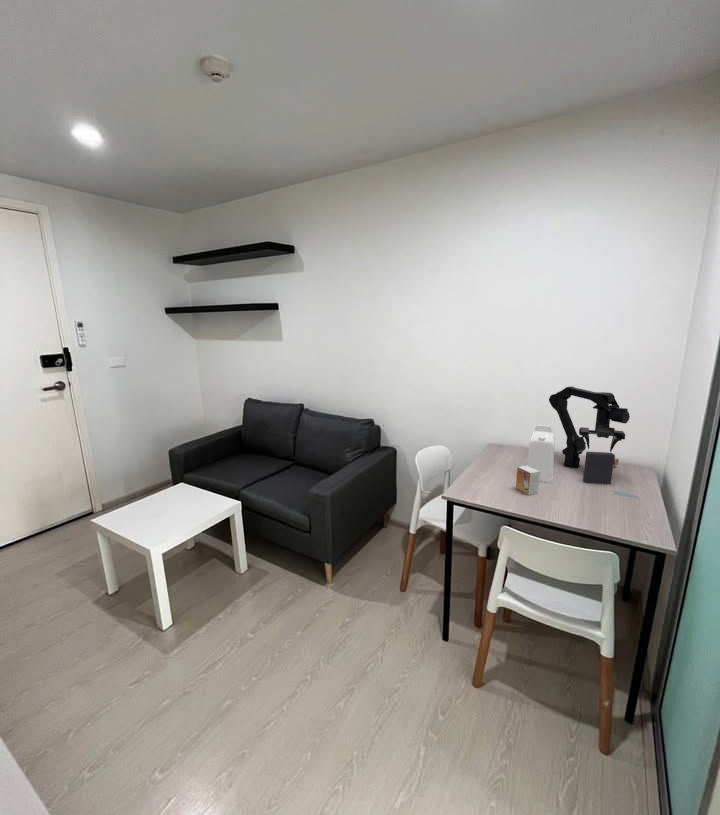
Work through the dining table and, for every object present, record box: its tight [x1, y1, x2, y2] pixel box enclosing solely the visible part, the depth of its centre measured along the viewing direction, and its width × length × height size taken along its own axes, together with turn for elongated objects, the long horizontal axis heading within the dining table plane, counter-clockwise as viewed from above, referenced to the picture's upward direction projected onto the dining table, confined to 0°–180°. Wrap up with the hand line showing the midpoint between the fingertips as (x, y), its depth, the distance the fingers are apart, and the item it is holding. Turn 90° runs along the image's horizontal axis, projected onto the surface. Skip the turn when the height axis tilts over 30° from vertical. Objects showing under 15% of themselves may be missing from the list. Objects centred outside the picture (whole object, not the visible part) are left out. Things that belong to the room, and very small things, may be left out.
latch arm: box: [613, 458, 620, 467], centre depth 199 cm, size 23×2×5 cm, turn 114°
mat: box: [612, 490, 640, 499], centre depth 177 cm, size 9×13×1 cm
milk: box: [526, 424, 556, 484], centre depth 192 cm, size 12×12×26 cm
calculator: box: [582, 451, 616, 485], centre depth 185 cm, size 11×4×15 cm, turn 80°
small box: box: [515, 465, 540, 496], centre depth 178 cm, size 8×6×10 cm
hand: (599, 450), depth 193 cm, fingers open, 9 cm apart
